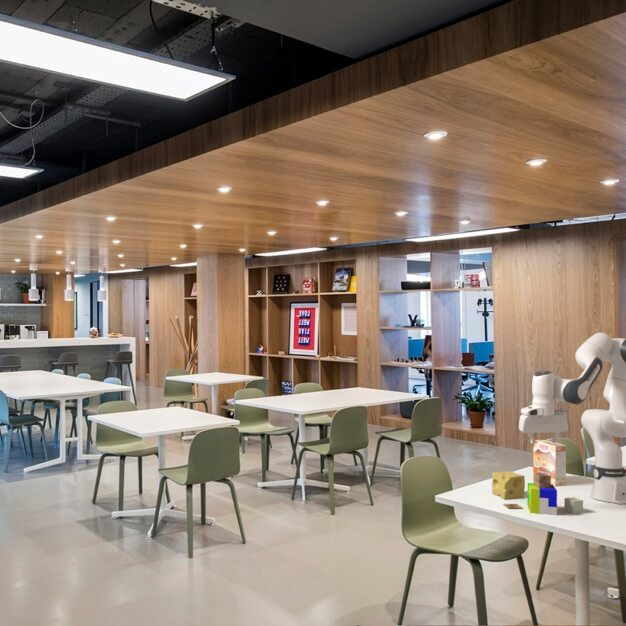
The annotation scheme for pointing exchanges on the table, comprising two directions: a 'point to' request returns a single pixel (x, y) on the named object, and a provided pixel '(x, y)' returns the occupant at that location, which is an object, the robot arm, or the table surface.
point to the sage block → (573, 505)
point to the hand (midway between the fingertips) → (543, 442)
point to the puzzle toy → (542, 500)
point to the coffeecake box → (550, 461)
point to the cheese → (508, 485)
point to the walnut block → (542, 480)
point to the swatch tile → (512, 506)
